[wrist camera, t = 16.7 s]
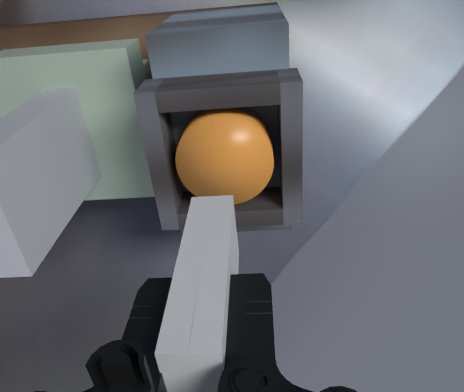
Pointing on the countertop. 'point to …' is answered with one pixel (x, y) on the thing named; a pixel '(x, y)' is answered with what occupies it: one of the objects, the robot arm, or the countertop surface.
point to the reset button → (225, 154)
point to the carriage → (65, 140)
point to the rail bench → (203, 93)
